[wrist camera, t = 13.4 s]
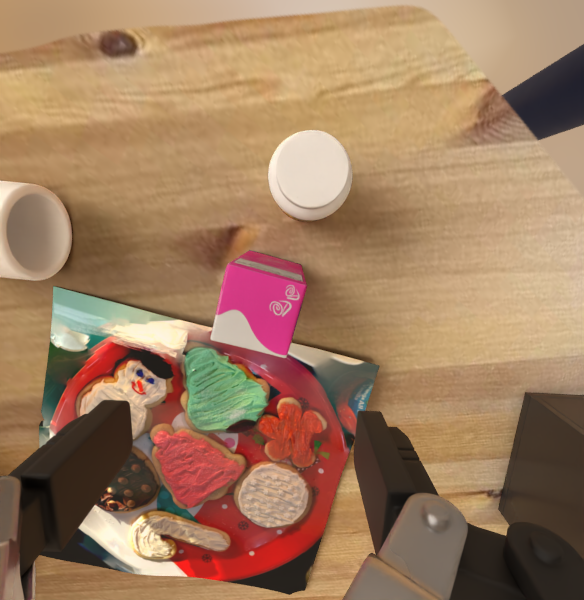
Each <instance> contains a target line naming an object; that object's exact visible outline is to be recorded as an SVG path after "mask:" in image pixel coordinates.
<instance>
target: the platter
mask: <svg viewBox="0 0 584 600" xmlns="http://www.w3.org/2000/svg"><path fill="white" fill-rule="evenodd" d="M211 333H212V327H207V326H203V325H199V324H195V323H190V322H186V321H182V320H178V319H174V318H170V317H167V316H163V315H159V314H155V313H152V312H148V311H144V310H141V309H137V308H133V307H130V306H126V305H122V304H119V303H115V302H111V301H107V300H104V299H100V298H96V297H92V296H89V295H85V294H81V293H77V292H73V291H70V290H66V289H62V288H58V287H55V286H53V308H52V325H51V337H50V346H49V355H48V363H47V371H46V379H45V387H44V395H43V403H42V410H41V413H42V415H43V418H44V421H41V423H40V425H39V444H40V447H41V446H42V445H45V444H46V442H47V441H48V440H49V439H50V438H52V437H53V436H54V435H55V436H56V433H57V432H58V431H60V430H61V429H62V428H63V427H64V426H65V425H66V424H68V423H69V422H71V421H73V420H75V419H76V418H78V417H80V416H82V415H84V414H88V413H89V412H90V411H91V410H92V409H94V408H95V407H96V406H97V405H98V404H99V403H100V402H101V401H103V400H126V401H128V402H129V404H130V410H131V422H132V434H133V445H132V450H131V453H130V456H129V458H128V459H127V461H126V462H125V464H124V465H123V466H122V468H121V469H120V471H119V472H118V473H117V475H116V476H115V478H114V479H113V480H112V482H111V483H110V485H109V486H108V487H107V489H106V490H105V492H104V493H103V494H102V496H101V497H100V498H99V500H98V501H97V503H96V504H95V505H94V507H93V508H92V510H91V511H90V512H89V514H88V515H87V517H86V518H85V519H84V521H83V522H82V524H81V525H80V526H79V528H78V529H77V531H76V532H75V533H74V535H73V536H72V538H71V539H70V540H69V542H68V543H67V545H66V546H65V547H64V549H63V550H62V551H61V552H48V551H42V552H41V553H40V554H39V555H42V556H46V557H50V558H55V559H60V560H65V561H70V562H76V563H82V564H88V565H93V566H99V567H103V568H108V569H113V570H118V571H122V572H128V573H133V574H141V575H154V576H185V577H197V578H205V579H212V580H218V581H225V582H231V583H237V584H243V585H249V586H255V587H260V588H265V589H269V590H274V591H278V592H282V593H286V594H289V595H290V594H292V593H294V592H297V591H304V590H305V588H306V585H307V582H308V579H309V576H310V573H311V570H312V567H313V564H314V561H315V558H316V554H317V551H318V548H319V545H320V542H321V539H322V536H323V533H324V529H325V526H326V523H327V519H328V516H329V513H330V509H331V506H332V503H333V499H334V496H335V493H336V489H337V486H338V483H339V480H340V477H341V474H342V471H343V468H344V466H345V463H346V460H347V457H348V455H349V452H350V450H351V447H352V445H353V442H354V440H355V433H356V422H357V414H358V411H365V409H366V406H367V403H368V400H369V397H370V394H371V391H372V387H373V384H374V381H375V378H376V375H377V372H378V369H379V365H375V364H372V363H368V362H364V361H361V360H357V359H353V358H350V357H346V356H342V355H339V354H335V353H331V352H328V351H324V350H320V349H316V348H312V347H308V346H303V345H299V344H294V343H291V344H290V348H289V351H288V354H287V357H286V358H282V357H278V356H274V355H270V354H267V353H263V352H259V351H255V350H251V349H247V348H242V347H238V346H234V345H230V344H226V343H221V342H217V341H213V340H211V339H210V338H211Z"/></svg>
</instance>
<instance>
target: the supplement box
mask: <svg viewBox="0 0 584 600" xmlns="http://www.w3.org/2000/svg"><path fill="white" fill-rule="evenodd" d="M306 288H307V284H306V280H305V277H304V273H303V269H302V266H301V264H297V263H294V262H290V261H287V260H283V259H280V258H276V257H272V256H269V255H265V254H262V253H258V252H254V251H248V252H246V253H245V254H243V255H241V256H240V257H238V258H237V259H235V260H233V261H232V262H230V263H229V264H228V265H227V267H226V271H225V275H224V279H223V283H222V288H221V292H220V296H219V301H218V305H217V310H216V315H215V319H214V323H213V328H212V333H211V338H210V339H211V340H213V341H217V342H221V343H226V344H230V345H234V346H238V347H242V348H247V349H251V350H255V351H259V352H263V353H267V354H270V355H274V356H278V357H282V358H286V357H287V354H288V351H289V348H290V344H291V341H292V337H293V334H294V330H295V327H296V323H297V320H298V316H299V313H300V309H301V306H302V302H303V299H304V295H305V292H306Z"/></svg>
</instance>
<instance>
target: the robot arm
mask: <svg viewBox="0 0 584 600" xmlns="http://www.w3.org/2000/svg"><path fill="white" fill-rule="evenodd" d="M132 445H133V434H132V422H131V410H130V404H129V402H128V401H126V400H103V401H101V402H100V403H99V404H98V405H97V406H96V407H95V408H94V409H92V410H91V411H90V412H89V413H88V414H84V415H82V416H80V417H78V418H76V419H75V420H73V421H71V422H69V423H68V424H66V425H65V426H64V427H63V428H62V429H61V430H60V431H58V432H57V433H56V436H55V435H54V436H53V437H52V438H50V439H49V440H48V441H47V442H46V444H45V445H42V446H41V447H40V448H39V449H38V450H37V451H36V452H34V453H33V454H32V455H31V456H30V457H29V458H27V459H26V460H25V461H24V462H23V463H22V464H21V465H19V466H18V467H17V468H16V469H15V470H14V471H13V472H11V473H10V474H9V475H8V476H0V600H35V583H36V568H35V562H34V561H35V560H36V558H37V557H38V556H39V554H40V553H41V552H42V551H48V552H61V551H62V550H63V549H64V547H65V546H66V545H67V543H68V542H69V540H70V539H71V538H72V536H73V535H74V533H75V532H76V531H77V529H78V528H79V526H80V525H81V524H82V522H83V521H84V519H85V518H86V517H87V515H88V514H89V512H90V511H91V510H92V508H93V507H94V505H95V504H96V503H97V501H98V500H99V498H100V497H101V496H102V494H103V493H104V492H105V490H106V489H107V487H108V486H109V485H110V483H111V482H112V480H113V479H114V478H115V476H116V475H117V473H118V472H119V471H120V469H121V468H122V466H123V465H124V464H125V462H126V461H127V459H128V458H129V456H130V453H131V450H132ZM354 465H355V471H356V475H357V479H358V483H359V487H360V491H361V495H362V500H363V504H364V508H365V512H366V516H367V520H368V524H369V528H370V533H371V537H372V541H373V545H374V549H375V553H376V555H375V554H373V553H370V554H369V555H368V556H367V558H366V559H365V561H364V562H363V564H362V566H361V568H360V570H359V571H358V573H357V575H356V577H355V578H354V580H353V582H352V584H351V585H350V587H349V589H348V591H347V592H346V594H345V596H344V598H343V600H584V560H583V559H582V557H581V556H580V555H579V554H578V553H577V551H576V550H575V549H574V548H573V547H572V546H571V545H570V544H569V543H568V542H566V541H565V540H564V539H563V538H561V537H560V536H558V535H557V534H555V533H554V532H552V531H550V530H548V529H546V528H544V527H542V526H539V525H537V524H533V523H529V522H516V523H513V524H511V525H510V526H509V528H508V530H507V535H506V536H504V535H501V534H498V533H495V532H491V531H488V530H485V529H482V528H479V527H476V526H473V525H471V524H469V523H467V522H466V520H465V518H464V516H463V515H462V513H461V512H460V511H459V510H458V509H457V507H455V506H454V505H453V504H452V503H450V502H449V501H447V500H446V499H444V498H442V497H440V496H439V495H438V493H437V491H436V489H435V487H434V485H433V483H432V482H431V480H430V478H429V476H428V474H427V472H426V470H425V468H424V466H423V465H422V463H421V461H419V457H418V455H417V453H416V451H414V448H413V446H412V444H411V442H410V440H409V438H408V437H407V436H406V435H405V434H404V433H403V432H402V431H401V430H399V429H398V428H397V427H388V426H387V424H386V422H385V420H384V417H383V415H382V413H381V412H380V411H358V414H357V422H356V433H355V444H354Z"/></svg>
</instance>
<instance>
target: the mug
mask: <svg viewBox="0 0 584 600" xmlns="http://www.w3.org/2000/svg"><path fill="white" fill-rule="evenodd" d="M71 244H72V228H71V223H70V219H69V216H68V213H67V211H66V209H65V207H64V205H63V203H62V202H61V201H60V199H59V198H58V197H57V196H56V195H55V194H54V193H53V192H52V191H50V190H49V189H47V188H45V187H43V186H40V185H37V184H29V183H19V182H10V181H0V277H4V278H14V279H24V280H33V281H38V280H44V279H47V278H50V277H52V276H53V275H55V274H56V273H57V272H58V271H59V270H60V269H61V268H62V267H63V265H64V264H65V262H66V260H67V258H68V256H69V253H70V249H71Z"/></svg>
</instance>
